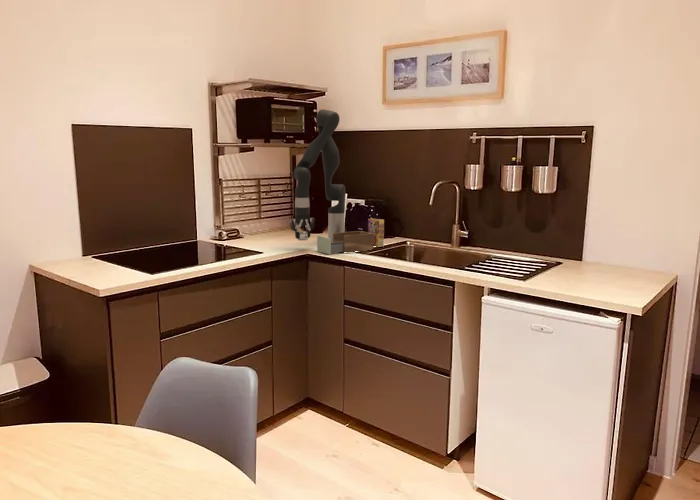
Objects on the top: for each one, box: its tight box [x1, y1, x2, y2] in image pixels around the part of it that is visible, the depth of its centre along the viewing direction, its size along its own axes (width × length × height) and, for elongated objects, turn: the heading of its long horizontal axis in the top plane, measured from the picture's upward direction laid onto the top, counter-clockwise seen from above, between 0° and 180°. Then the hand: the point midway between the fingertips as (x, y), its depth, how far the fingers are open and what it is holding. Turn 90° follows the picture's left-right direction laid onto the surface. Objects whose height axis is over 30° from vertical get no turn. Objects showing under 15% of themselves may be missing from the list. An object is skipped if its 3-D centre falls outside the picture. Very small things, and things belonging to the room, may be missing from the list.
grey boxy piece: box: [316, 235, 344, 256], centre depth 274 cm, size 13×17×8 cm
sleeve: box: [333, 230, 374, 253], centre depth 279 cm, size 12×17×9 cm
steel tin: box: [297, 230, 309, 241], centre depth 280 cm, size 5×5×4 cm
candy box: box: [367, 218, 385, 247], centre depth 289 cm, size 9×4×15 cm, turn 39°
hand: (302, 238), depth 280 cm, fingers closed on steel tin, 5 cm apart
